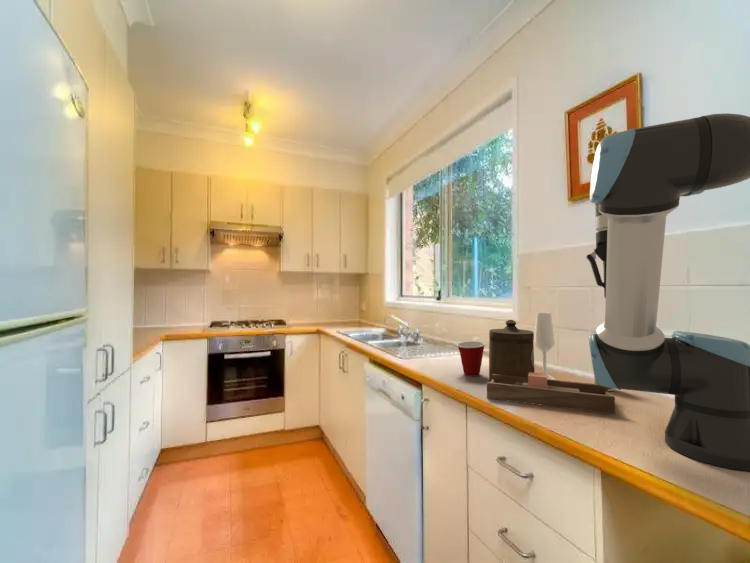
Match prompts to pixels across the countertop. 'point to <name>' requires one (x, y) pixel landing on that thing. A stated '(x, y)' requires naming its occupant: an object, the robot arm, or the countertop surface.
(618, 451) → the countertop surface
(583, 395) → the box
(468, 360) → the plastic cup
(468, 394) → the countertop surface
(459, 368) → the countertop surface
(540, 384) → the block
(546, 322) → the champagne flute
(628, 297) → the robot arm
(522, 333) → the wooden container
